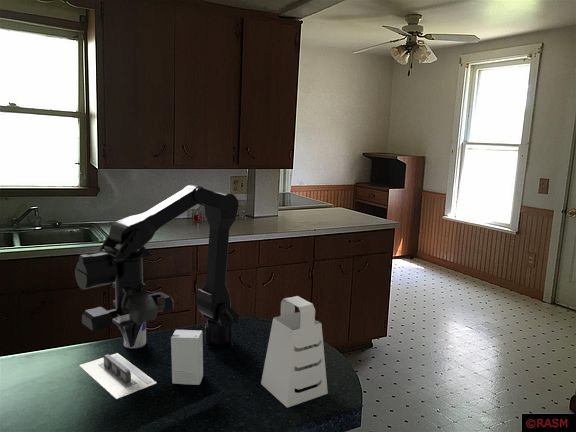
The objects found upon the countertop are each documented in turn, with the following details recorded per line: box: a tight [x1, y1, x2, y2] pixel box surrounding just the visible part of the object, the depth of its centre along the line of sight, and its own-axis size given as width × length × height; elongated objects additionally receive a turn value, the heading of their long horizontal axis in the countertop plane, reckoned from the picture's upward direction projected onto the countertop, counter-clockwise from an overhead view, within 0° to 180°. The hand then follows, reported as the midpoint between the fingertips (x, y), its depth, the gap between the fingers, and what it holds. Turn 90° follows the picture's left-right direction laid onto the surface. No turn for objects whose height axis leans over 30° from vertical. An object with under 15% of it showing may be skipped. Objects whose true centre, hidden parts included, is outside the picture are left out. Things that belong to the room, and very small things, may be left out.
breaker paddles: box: [104, 353, 131, 384], centre depth 101 cm, size 1×10×2 cm, turn 46°
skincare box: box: [170, 329, 204, 386], centre depth 99 cm, size 6×4×12 cm
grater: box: [260, 295, 329, 408], centre depth 99 cm, size 10×10×20 cm
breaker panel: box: [78, 352, 158, 400], centre depth 101 cm, size 9×18×2 cm, turn 46°
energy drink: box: [123, 321, 147, 349], centre depth 115 cm, size 5×5×12 cm
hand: (130, 346), depth 103 cm, fingers closed
